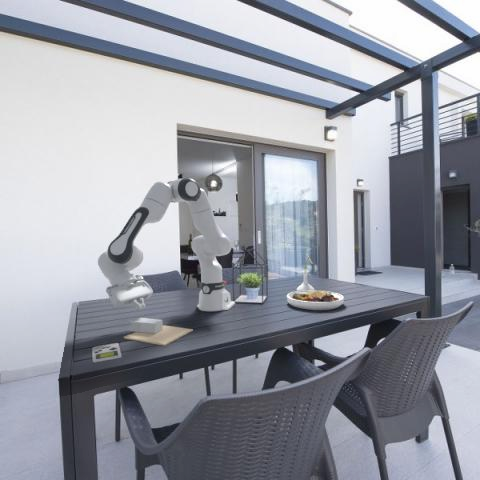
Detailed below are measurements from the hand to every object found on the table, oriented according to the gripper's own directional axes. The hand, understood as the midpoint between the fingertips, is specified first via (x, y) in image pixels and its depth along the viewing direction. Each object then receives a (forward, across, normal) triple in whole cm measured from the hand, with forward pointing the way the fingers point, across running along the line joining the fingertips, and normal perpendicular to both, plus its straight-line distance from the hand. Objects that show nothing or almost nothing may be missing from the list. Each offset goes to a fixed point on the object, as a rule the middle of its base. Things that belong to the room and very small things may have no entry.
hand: (142, 308), depth 130 cm
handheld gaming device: (+10, -22, +5) cm, 24 cm away
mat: (+13, 0, +1) cm, 13 cm away
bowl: (+47, +72, -32) cm, 91 cm away
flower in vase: (+38, +102, -24) cm, 111 cm away
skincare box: (+2, 0, +8) cm, 9 cm away
